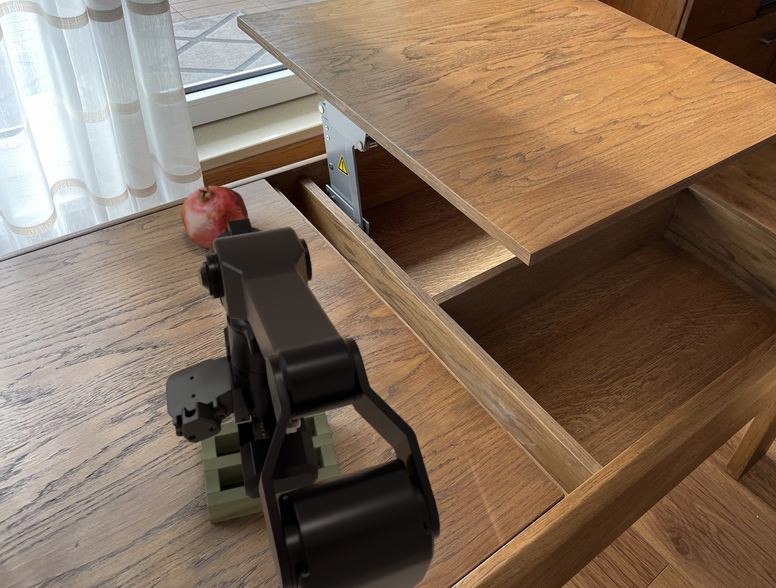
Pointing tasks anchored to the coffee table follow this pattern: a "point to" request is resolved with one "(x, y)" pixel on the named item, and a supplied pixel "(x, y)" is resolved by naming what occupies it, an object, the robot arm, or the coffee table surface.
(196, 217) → the fruit
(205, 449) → the rack
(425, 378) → the coffee table surface
